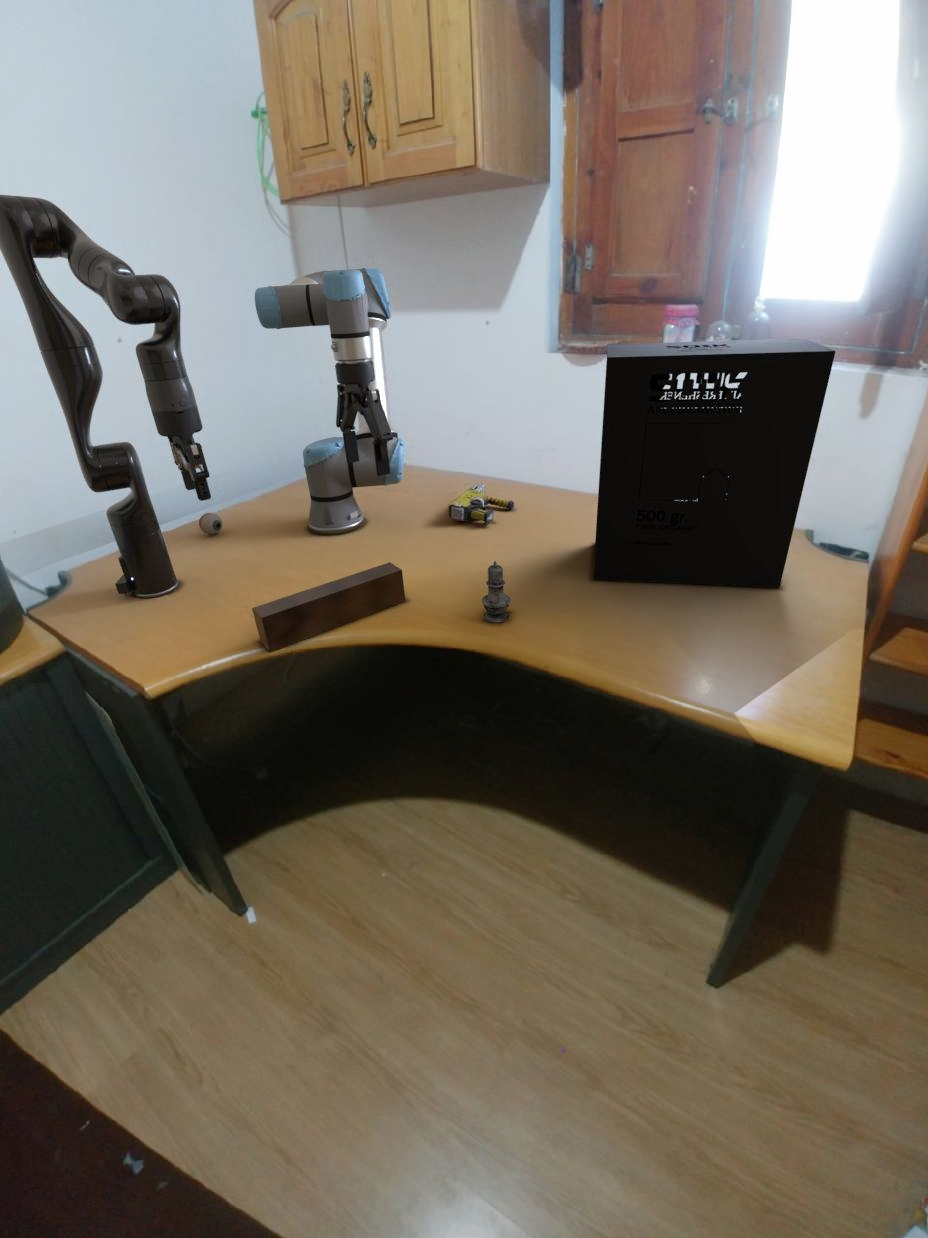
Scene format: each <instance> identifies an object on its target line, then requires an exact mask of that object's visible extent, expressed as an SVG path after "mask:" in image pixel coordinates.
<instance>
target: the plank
mask: <svg viewBox="0 0 928 1238" xmlns="http://www.w3.org/2000/svg"><path fill="white" fill-rule="evenodd" d="M404 584H405V583H404V576H403V569H402V568H400V567H398V566H397V565H395V564H393V563H392V562H385V563H382V564H380V565H378V566H374V567H372V568H367V569H365V570H362V571H359V572H356V573H353V574H350V575H347V576H344V577H340V578H339V579H335V580H332V581H329V582H326V583H323V584H320V585H317V586H314V587H311V588H308V589H305V590H302V591H298V592H296V593H293V594H290V595H286V596H284V597H281V598H278V599H274V600H272V601H269V602H266V603H263V604H260V605H256V606H254V607H252V608H251V610H252V614H253V617H254V621H255V625H256V629H257V633H258V637H259V641H260V643H261V644H262V645H263V646H264V648H266V650H267V651H268V652H269V653H272V652H275V651H277V650H280V649H283V648H285V647H288V646H290V645H293V644H296V643H299V642H302V641H304V640H307V639H309V638H312V637H315V636H317V635H321V634H323V633H326V632H328V631H330V630H333V629H335V628H339V627H341V626H344V625H346V624H349V623H352V622H354V621H357V620H361V619H363V618H365V617H367V616H371V615H373V614H376V613H379V612H381V611H384V610H386V609H390V608H391V607H394V606H397V605H400V604H402V603H405V602H406V595H405V585H404Z"/></svg>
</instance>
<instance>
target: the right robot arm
mask: <svg viewBox="0 0 928 1238" xmlns="http://www.w3.org/2000/svg"><path fill="white" fill-rule="evenodd" d="M254 304H255V310H256V311H255V312H256V315H257V318H258V321H259V323H260V326H262V328H264V329H266V330H267V329H268V330H271V329H272V330H273V329H275V330H280V329H281V330H282V329H291V328H304V327H321V326H322V327H323V326H329V332H330V338H331V339H330V340H331V344H330V349H331V350H332V354H333V360H335V361H337V362H336V363H335V364H334V369H335V376H336V381H337V383H338V384H337V385H336V390H337V391H336V392H337V400H336V401H337V403H336V414H335V415H336V418H335V426H336V428H339V429H340V430H339V431H340V432H341V433H342V436H332V437H327V438H323V439H319V440H316V441H314V442H312V443H311V442H310V443H309V444H308V445H306V446H305V447H304V448H303V450H302V457H303V459H302V460H303V467H304V471H305V476H306V481H307V486H308V492H309V498H310V507H309V513H308V521H307V524H308V528H309V529H308V530H310V531H311V532H312V533H314V534H317V535H323V536H324V535H325V536H327V535H329V536H331V535H339V534H340V535H341V534H345V533H350V532H353V531H355V530H357V529H359V528H361V527H362V526H363V525H364V523H365V519H364V514H363V512H362V510H361V508H360V505H359V504H358V501H357V500H356V498H355V495H354V489H353V488H366V487H367V488H368V487H379V486H385V487H386V486H391V485H397V484H399V483H401V482H402V481H403V476H404V457H405V455H404V453H405V449H404V448H405V441H404V439H402V438H399V435H398V432H397V430H395V428H394V427H393V426H392V421H391V409H390V401H389V391H388V379H387V372H386V370H387V369H386V361H385V350H384V340H383V332H384V331H385V330H386V329H387V327H388V320H390V319H391V318H392V315H393V314H392V310H391V304H390V300H389V295H388V290H387V285H386V280H385V277H384V275H383V272H382V271H381V270H380V269H378V268H365V267H362V268H353V269H337V270H335V269H334V270H321V271H316V272H313V273H309V274H306V275H303V276H300V277H297V278H295V279H294V280H293V281H291V282H290V283H289V284H284V285H275V286H274V285H268V286H262V287H257V288H256V289H255V290H254ZM356 420H357V423H358V429H357V431H356V426H355V423H356Z"/></svg>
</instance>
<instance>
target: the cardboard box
mask: <svg viewBox="0 0 928 1238" xmlns="http://www.w3.org/2000/svg"><path fill="white" fill-rule="evenodd" d="M835 356H836V350H834V349H831V348H829V347H827V346H824V345H821V344H819V343H816V342H814V341H812V340H810V339H806V338H804V337H799V338H798V337H797V338H796V337H795V338H794V337H793V338H767V339H766V338H765V339H737V340H736V339H735V340H732V339H731V340H707V341H705V340H703V341H675V342H672V341H671V342H670V341H669V342H648V343H647V342H646V343H645V342H644V343H643V342H642V343H639V342H638V343H613V344H612V343H611V344H609V343H607V349H606V363H605V364H606V365H605V367H606V368H605V381H604V396H603V411H602V412H603V413H602V429H601V444H600V445H601V446H600V461H599V477H598V479H599V480H598V494H597V507H596V508H597V509H596V511H597V512H596V523H595V524H596V525H595V538H594V539H595V540H594V559H593V561H594V562H593V579H592V580H595V581H612V582H613V581H616V582H617V581H618V582H636V583H638V582H639V583H660V584H661V583H662V584H680V585H681V584H682V585H683V584H684V585H706V586H726V587H727V586H729V587H748V588H749V587H750V588H751V587H752V588H770V589H771V588H772V589H780V588H781V583H782V579H783V575H784V571H785V567H786V562H787V558H788V554H789V550H790V545H791V542H792V539H793V538H792V537H793V533H794V529H795V524H796V521H797V516H798V512H799V507H800V505H801V504H800V503H801V499H802V495H803V491H804V488H805V487H804V486H805V483H806V478H807V475H808V474H807V473H808V469H809V465H810V461H811V457H812V452H813V450H814V449H813V448H814V444H815V441H816V437H817V431H818V428H819V423H820V420H821V415H822V410H823V407H824V402H825V398H826V393H827V389H828V385H829V381H830V377H831V372H832V368H833V365H834V360H835ZM741 373H746V374H745V375H744V377H741V378H738V376H739V374H741ZM682 374H684V378H683V381H682V385H681V386H682V388H678V385H679V384H678V383H679V379H678V377H679V376H680V375H682ZM692 374H696V378H695V379H694V378H691V376H692ZM706 374H707V378H705V375H706ZM723 375H724V376H723ZM727 377H729V378H728V381H727V382H728V385H729V384H731V385H732V384H738V385H737V387H727V385H726V379H727ZM722 379H723V380H722ZM694 384H696V385H697V384H698V387H695V388H694ZM708 384H713V388H712V387H711V388H710V387H709V388H708ZM666 386H668V387H669V388H665V387H666Z"/></svg>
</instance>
